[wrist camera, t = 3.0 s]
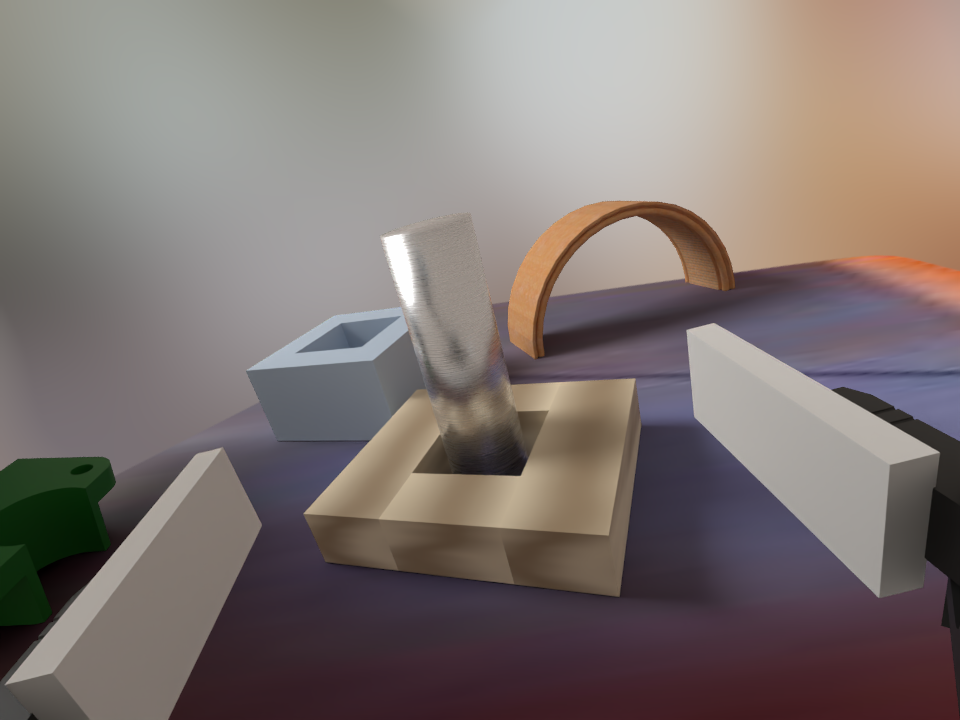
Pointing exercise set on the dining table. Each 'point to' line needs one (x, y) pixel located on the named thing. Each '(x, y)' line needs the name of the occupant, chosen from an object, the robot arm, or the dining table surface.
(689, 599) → the dining table surface
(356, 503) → the birch block
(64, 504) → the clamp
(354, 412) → the slate holder block
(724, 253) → the arch
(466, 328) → the steel axle
